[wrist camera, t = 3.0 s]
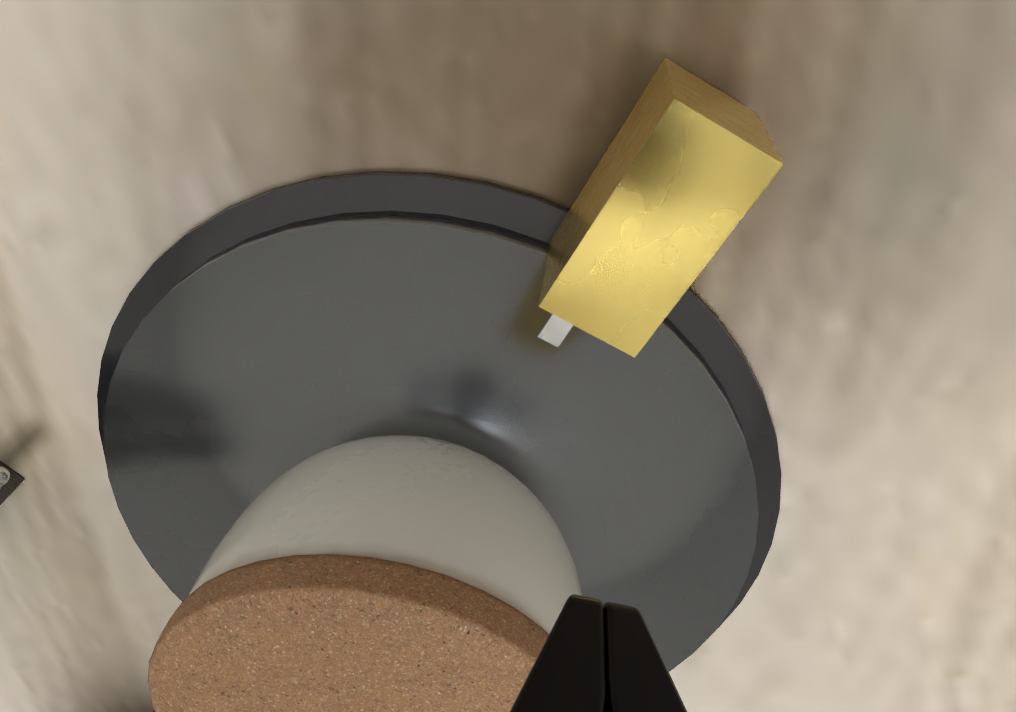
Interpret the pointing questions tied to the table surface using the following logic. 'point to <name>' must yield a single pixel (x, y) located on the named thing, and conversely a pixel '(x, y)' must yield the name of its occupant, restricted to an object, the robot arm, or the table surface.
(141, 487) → the turntable
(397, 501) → the lidded jar
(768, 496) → the turntable base
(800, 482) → the table surface
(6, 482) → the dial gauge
